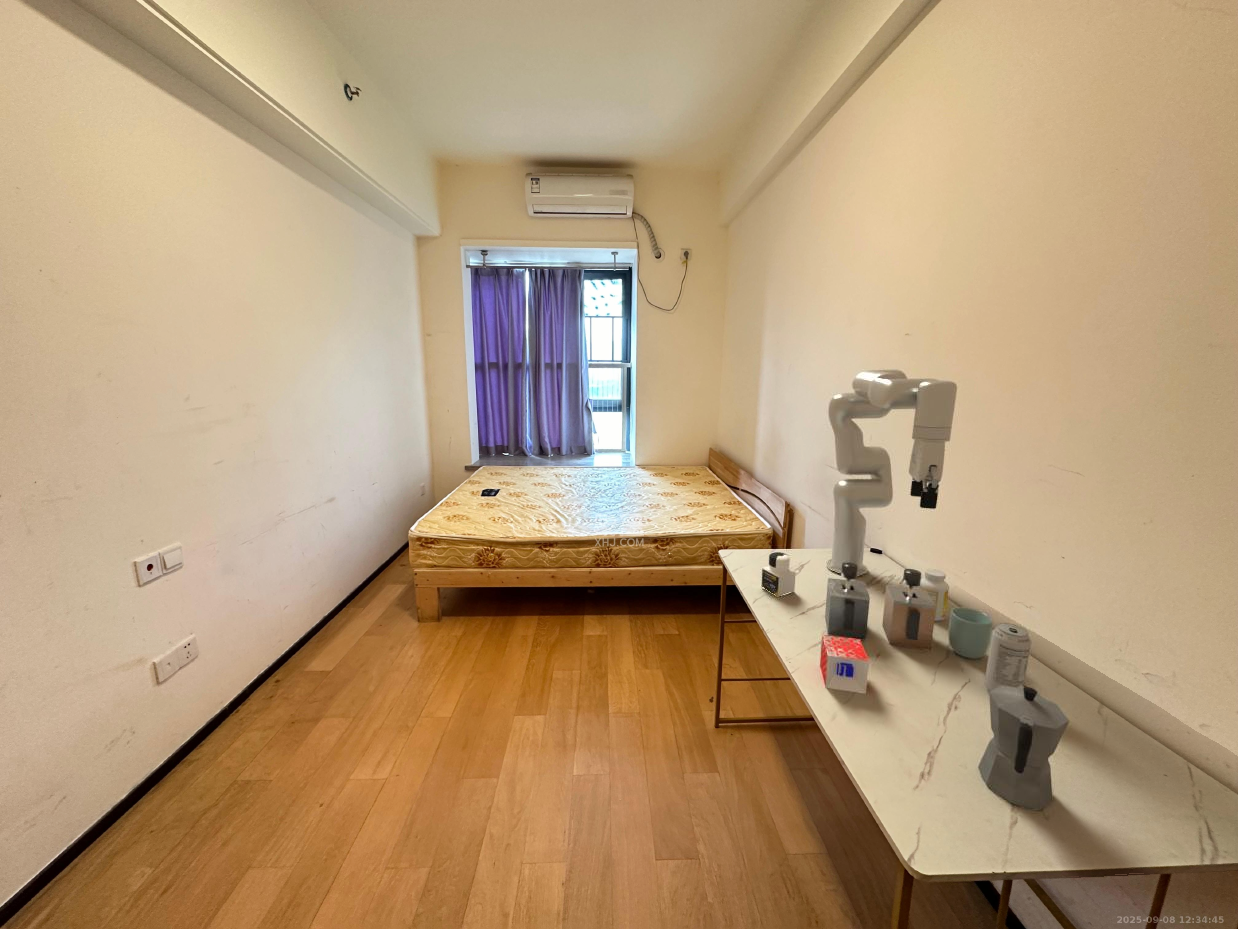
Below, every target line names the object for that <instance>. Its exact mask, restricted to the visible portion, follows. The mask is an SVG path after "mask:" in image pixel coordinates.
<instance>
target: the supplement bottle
mask: <svg viewBox="0 0 1238 929" xmlns="http://www.w3.org/2000/svg"><path fill="white" fill-rule="evenodd" d="M946 576H947V574H946V572H944V571H942V570H939V569H936V568H928V569H925V570H924V577H921V581H920V586H918V589H926V591H927V592H928V594H929V596H930V597H931V599H932V600H933V602H934V603H935V605H936V612H935V620H934V622H935V621H936V622H939V621H944V620H945V619H946V613H947V606H948V605H947V604H948V597H949V589H950V586H949V584H948V583H947V582H946V581H945V580H946Z"/></svg>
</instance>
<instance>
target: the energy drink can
mask: <svg viewBox="0 0 1238 929" xmlns="http://www.w3.org/2000/svg"><path fill="white" fill-rule="evenodd" d="M1031 647H1032V640H1031V638H1030V636H1029V631H1028V630H1027V629H1025V627H1022V626H1020V625H1017V624H1015V623H1010V622H999V623H997V625H996V627H995V628H994V629H992V632H991V638H990V644H989V651H988V652H989V653H988V660H987V665H986V673H985V677H984V686H985V688H986V691H987V692H988V693H989V692H990V691H992V690H994V689H996V688H998V687H999V686H1001V685H1003V686H1009V687H1014V688H1017V687H1018V686H1020V685H1025V681H1026V676H1027V675H1026V674H1027V670H1028V665H1029V664H1028V663H1029V658H1030V652H1031Z"/></svg>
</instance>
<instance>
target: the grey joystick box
mask: <svg viewBox="0 0 1238 929" xmlns="http://www.w3.org/2000/svg"><path fill="white" fill-rule="evenodd" d="M825 600H826V601H825V613H824V614H825V615H824V618H825V625H826V631H827V636H835V637H844V638H852V639H860V641H861V640H862V641H866V640H867V634H868V632H867V631H868V622H869V620H868V619H869V611H870V603H871V602H870V600H871V598H870V594H869V592H868V589H867V587H866V584H865V581H859V580H857V581H856V580H851V582H850V590H847V589H846V579H842V578H841V579H840V578H831V577H828V578H827V585H826V598H825Z"/></svg>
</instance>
